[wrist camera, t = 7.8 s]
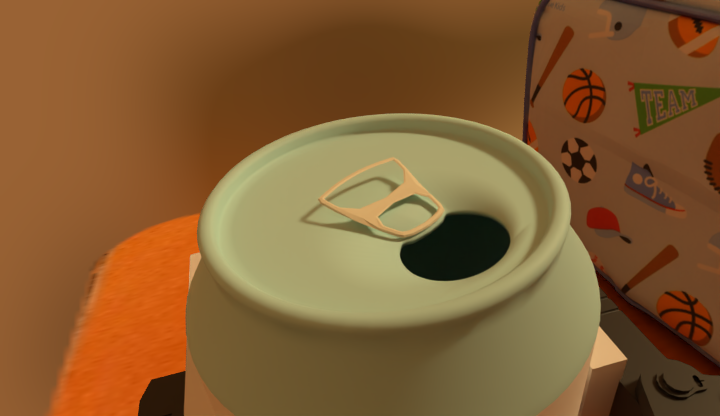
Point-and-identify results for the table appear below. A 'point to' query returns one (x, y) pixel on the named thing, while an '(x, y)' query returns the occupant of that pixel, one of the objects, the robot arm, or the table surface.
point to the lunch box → (637, 147)
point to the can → (392, 276)
